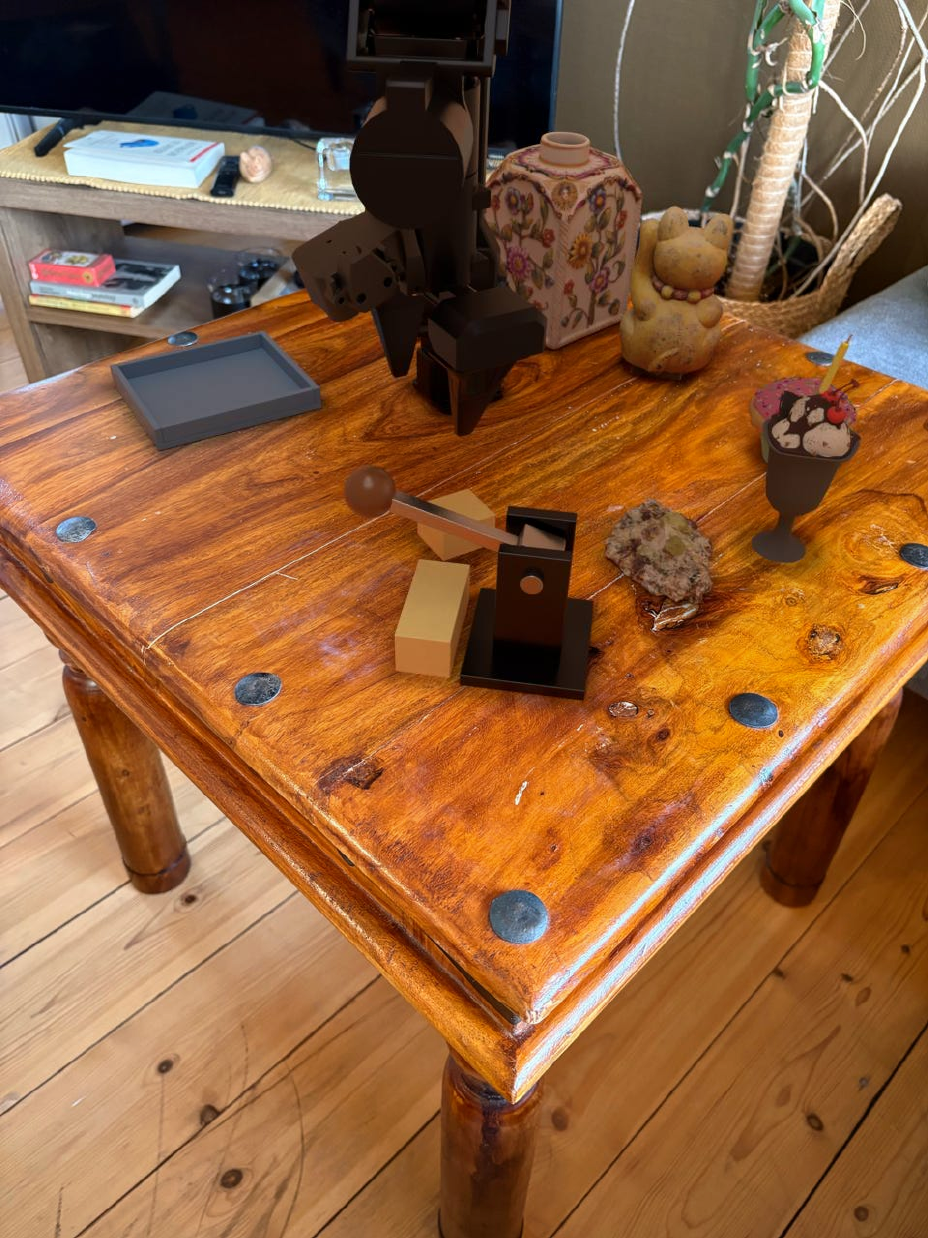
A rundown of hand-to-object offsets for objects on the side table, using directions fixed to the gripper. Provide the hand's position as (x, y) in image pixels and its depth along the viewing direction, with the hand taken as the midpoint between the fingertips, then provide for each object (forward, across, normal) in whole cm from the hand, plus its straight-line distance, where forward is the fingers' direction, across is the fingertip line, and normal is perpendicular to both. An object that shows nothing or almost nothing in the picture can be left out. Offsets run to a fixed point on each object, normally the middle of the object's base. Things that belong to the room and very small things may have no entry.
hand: (430, 404), depth 69 cm
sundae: (+12, +14, +22) cm, 29 cm away
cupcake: (+12, +5, +32) cm, 35 cm away
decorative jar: (+12, -28, +30) cm, 42 cm away
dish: (+11, -28, -7) cm, 31 cm away
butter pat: (+11, +2, +1) cm, 12 cm away
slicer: (+11, +14, 0) cm, 18 cm away
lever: (+3, +11, -5) cm, 12 cm away
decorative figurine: (+12, -13, +33) cm, 37 cm away
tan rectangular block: (+11, +10, -5) cm, 16 cm away
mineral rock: (+12, +11, +14) cm, 21 cm away
